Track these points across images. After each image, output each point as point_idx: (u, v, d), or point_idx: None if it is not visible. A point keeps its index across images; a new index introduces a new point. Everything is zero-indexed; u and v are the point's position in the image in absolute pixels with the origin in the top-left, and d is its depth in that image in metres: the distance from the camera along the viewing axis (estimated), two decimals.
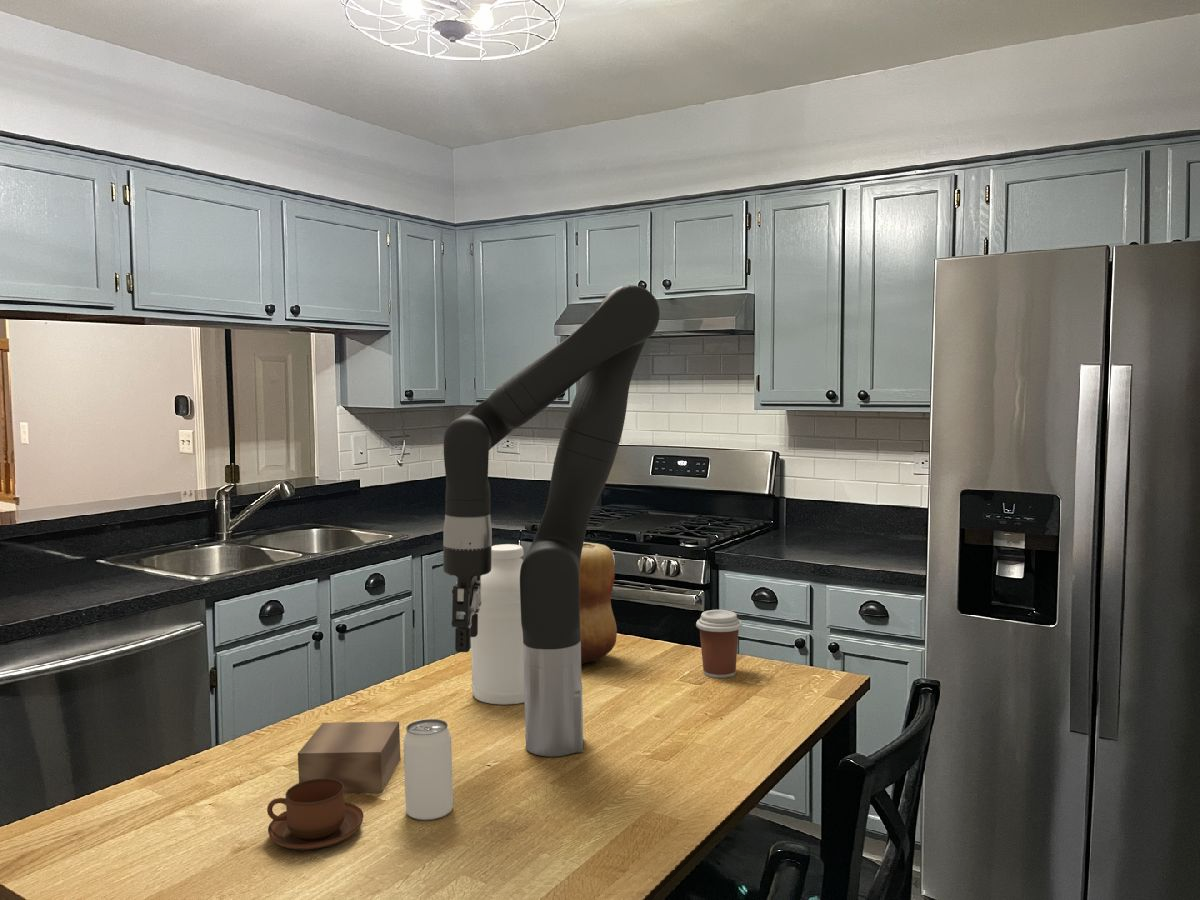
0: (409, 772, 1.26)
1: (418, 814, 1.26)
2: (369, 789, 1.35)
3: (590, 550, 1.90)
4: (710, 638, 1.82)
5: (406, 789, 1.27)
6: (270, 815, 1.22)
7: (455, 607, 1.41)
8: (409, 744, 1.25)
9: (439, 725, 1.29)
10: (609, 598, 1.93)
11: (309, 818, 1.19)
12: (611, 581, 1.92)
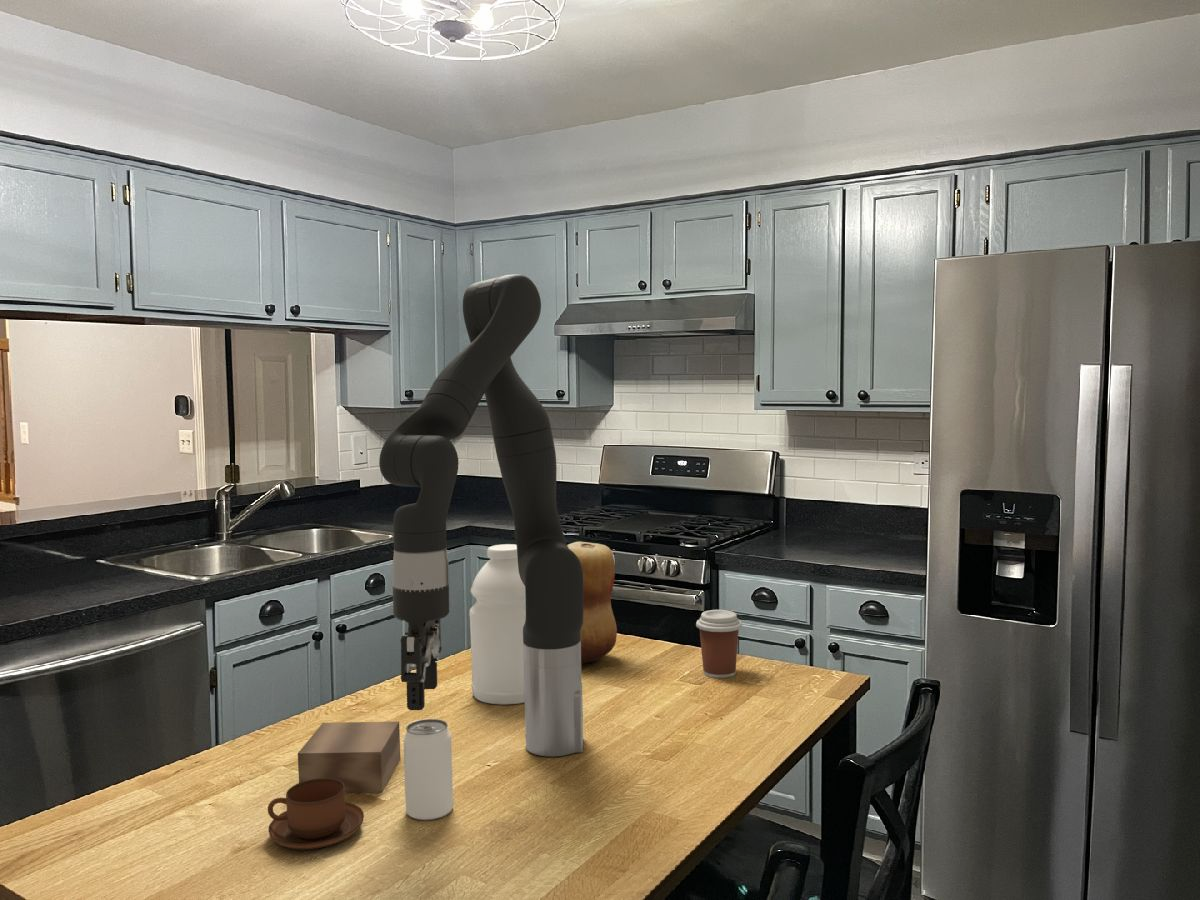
0: (409, 772, 1.26)
1: (418, 814, 1.26)
2: (369, 789, 1.35)
3: (590, 550, 1.90)
4: (710, 638, 1.82)
5: (406, 789, 1.27)
6: (271, 815, 1.22)
7: (404, 659, 1.20)
8: (409, 744, 1.25)
9: (439, 725, 1.29)
10: (609, 598, 1.93)
11: (310, 818, 1.19)
12: (611, 581, 1.92)
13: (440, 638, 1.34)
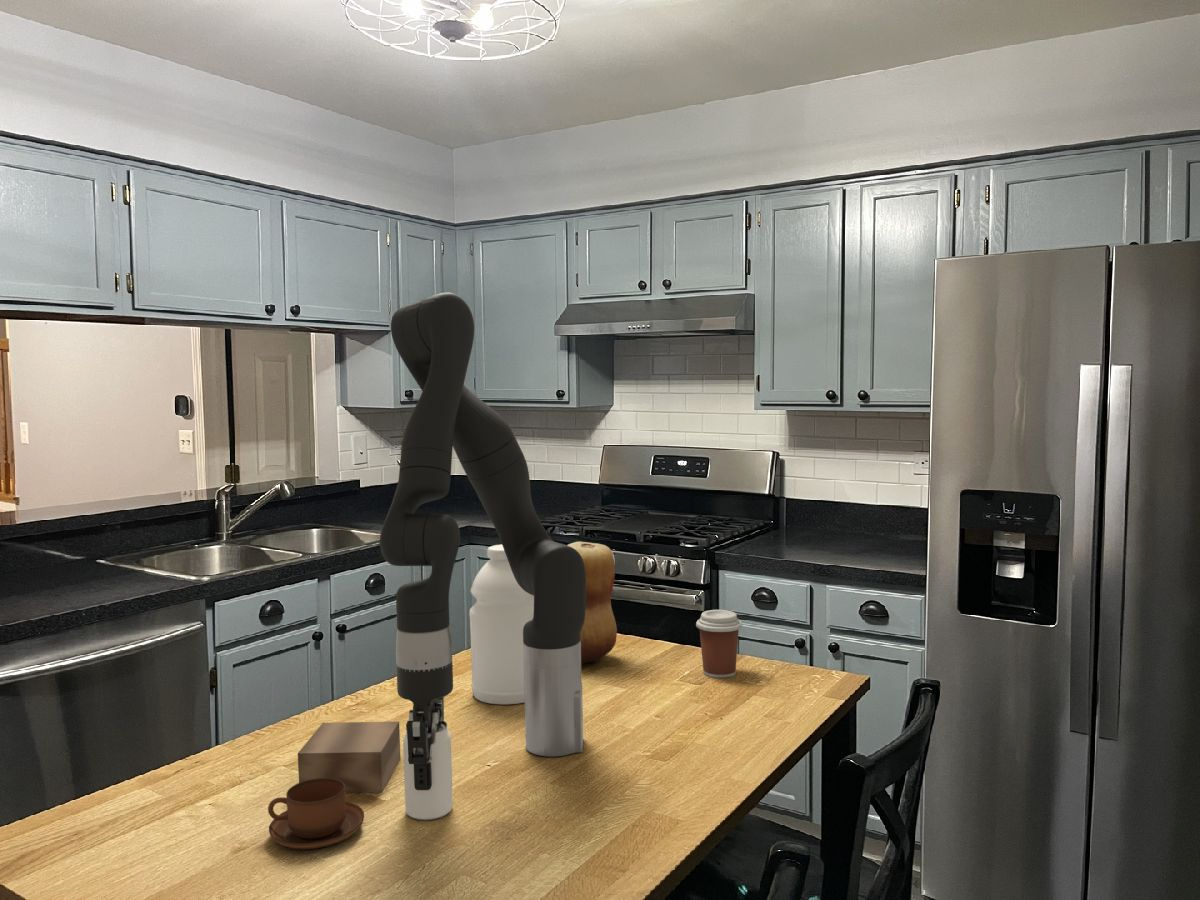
0: (409, 772, 1.26)
1: (417, 814, 1.26)
2: (369, 789, 1.35)
3: (590, 550, 1.90)
4: (710, 638, 1.82)
5: (406, 789, 1.27)
6: (271, 814, 1.22)
7: (411, 743, 1.21)
8: None
9: (439, 725, 1.29)
10: (609, 598, 1.93)
11: (310, 817, 1.19)
12: (611, 581, 1.92)
13: (443, 716, 1.34)
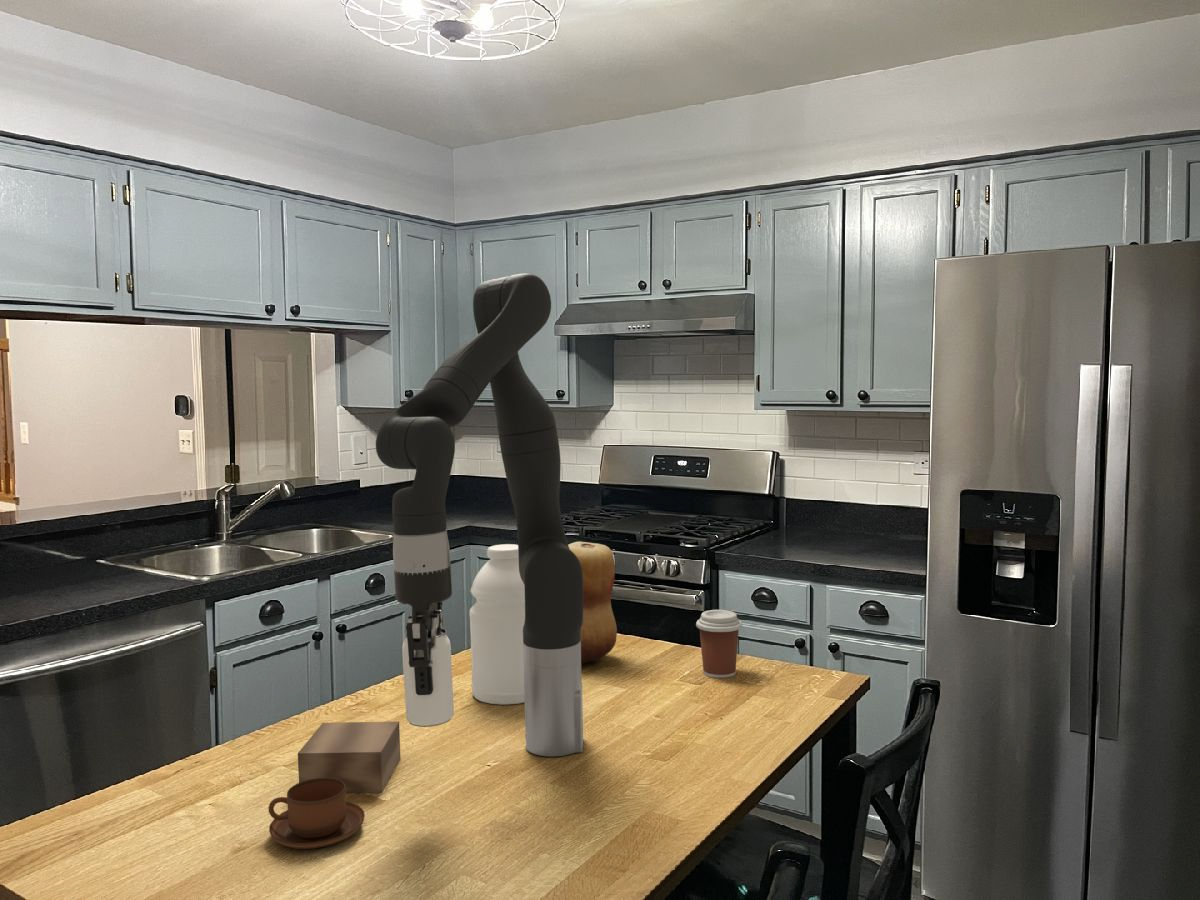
0: (409, 679, 1.24)
1: (419, 721, 1.24)
2: (369, 789, 1.35)
3: (590, 550, 1.90)
4: (710, 638, 1.82)
5: (406, 696, 1.25)
6: (271, 814, 1.22)
7: (411, 645, 1.20)
8: None
9: (438, 632, 1.28)
10: (609, 598, 1.93)
11: (310, 817, 1.19)
12: (611, 581, 1.92)
13: (442, 626, 1.33)
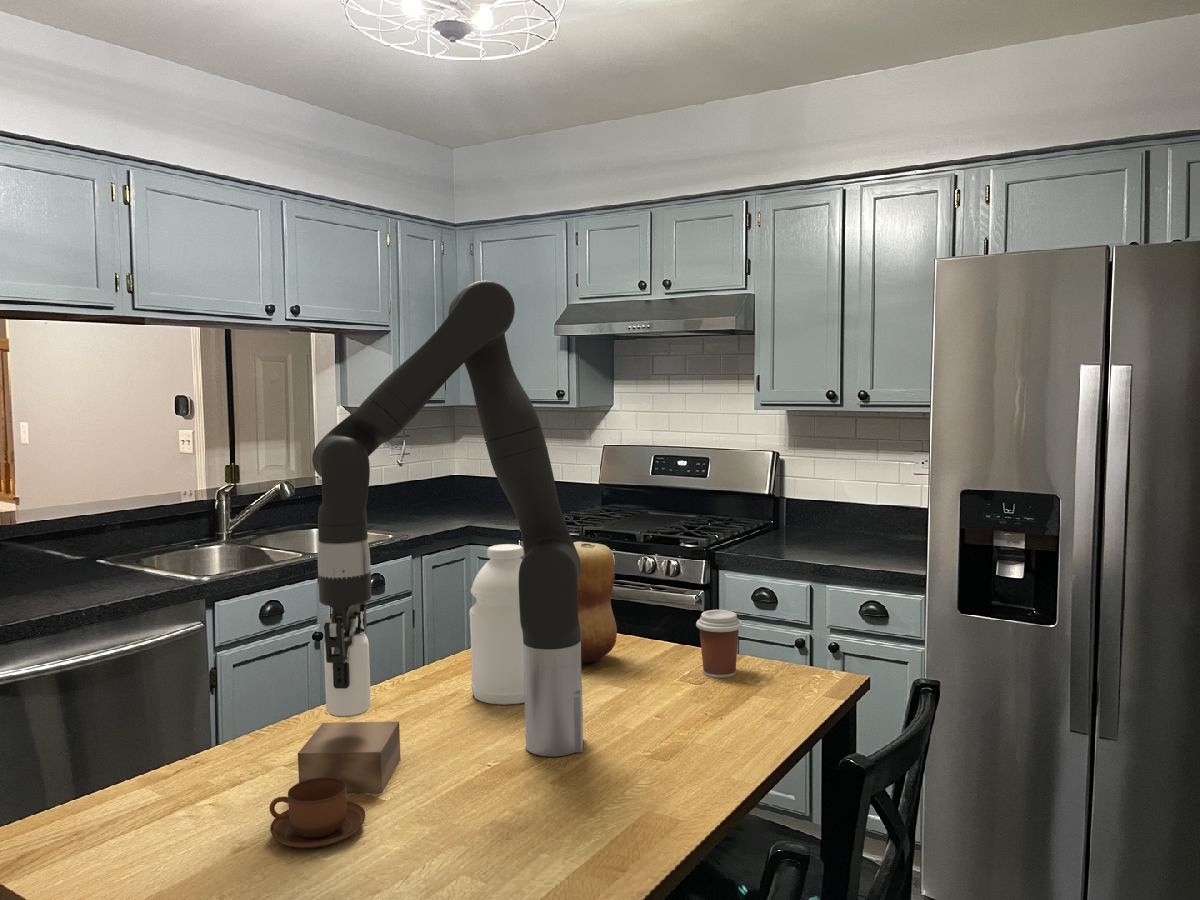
0: (328, 673, 1.37)
1: (336, 711, 1.37)
2: (369, 789, 1.35)
3: (590, 550, 1.90)
4: (710, 638, 1.82)
5: (326, 689, 1.38)
6: (272, 814, 1.22)
7: (328, 643, 1.33)
8: None
9: (358, 632, 1.40)
10: (609, 598, 1.93)
11: (311, 816, 1.19)
12: (611, 581, 1.92)
13: None
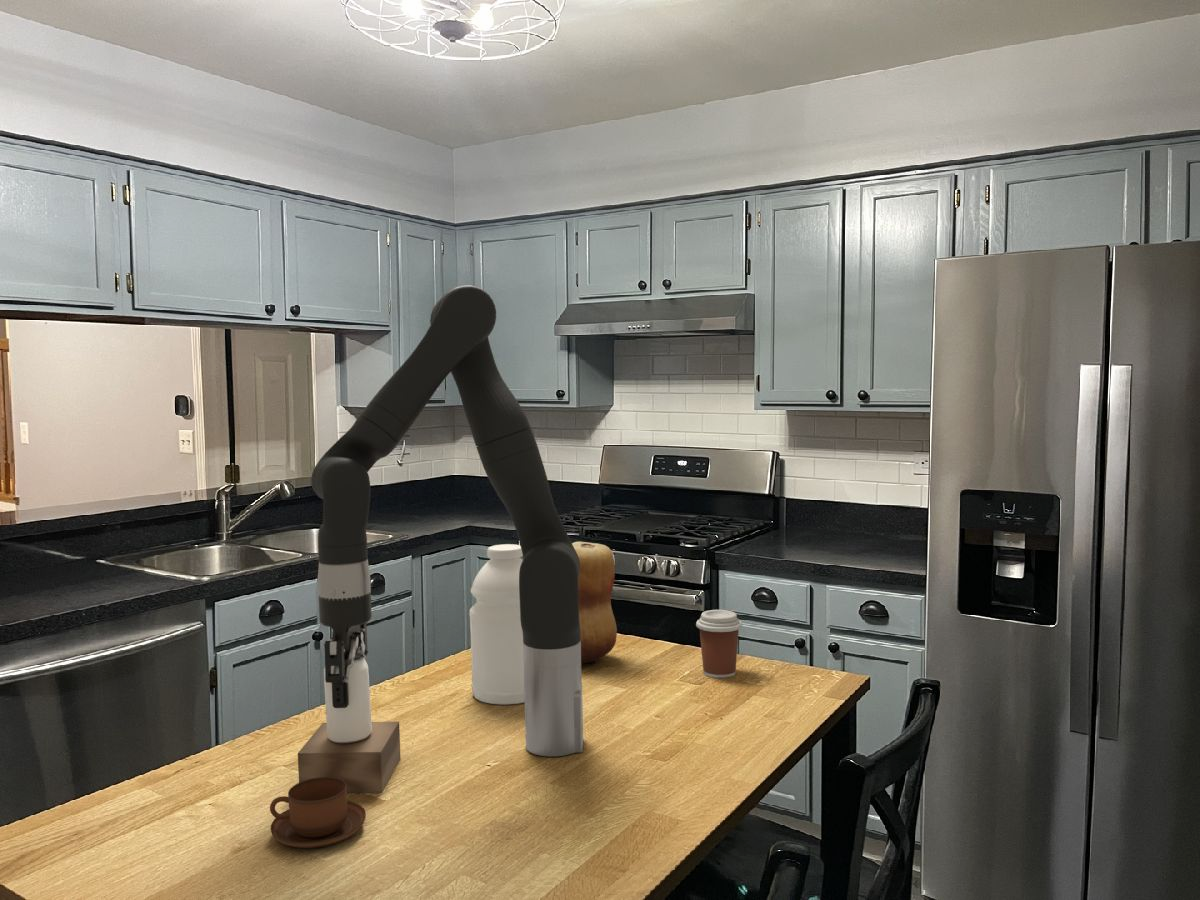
0: (328, 699, 1.37)
1: (337, 738, 1.37)
2: (369, 789, 1.35)
3: (590, 550, 1.90)
4: (710, 638, 1.82)
5: (327, 715, 1.38)
6: (273, 813, 1.22)
7: (328, 661, 1.32)
8: None
9: (357, 657, 1.41)
10: (609, 598, 1.93)
11: (312, 816, 1.19)
12: (611, 581, 1.92)
13: (366, 642, 1.46)
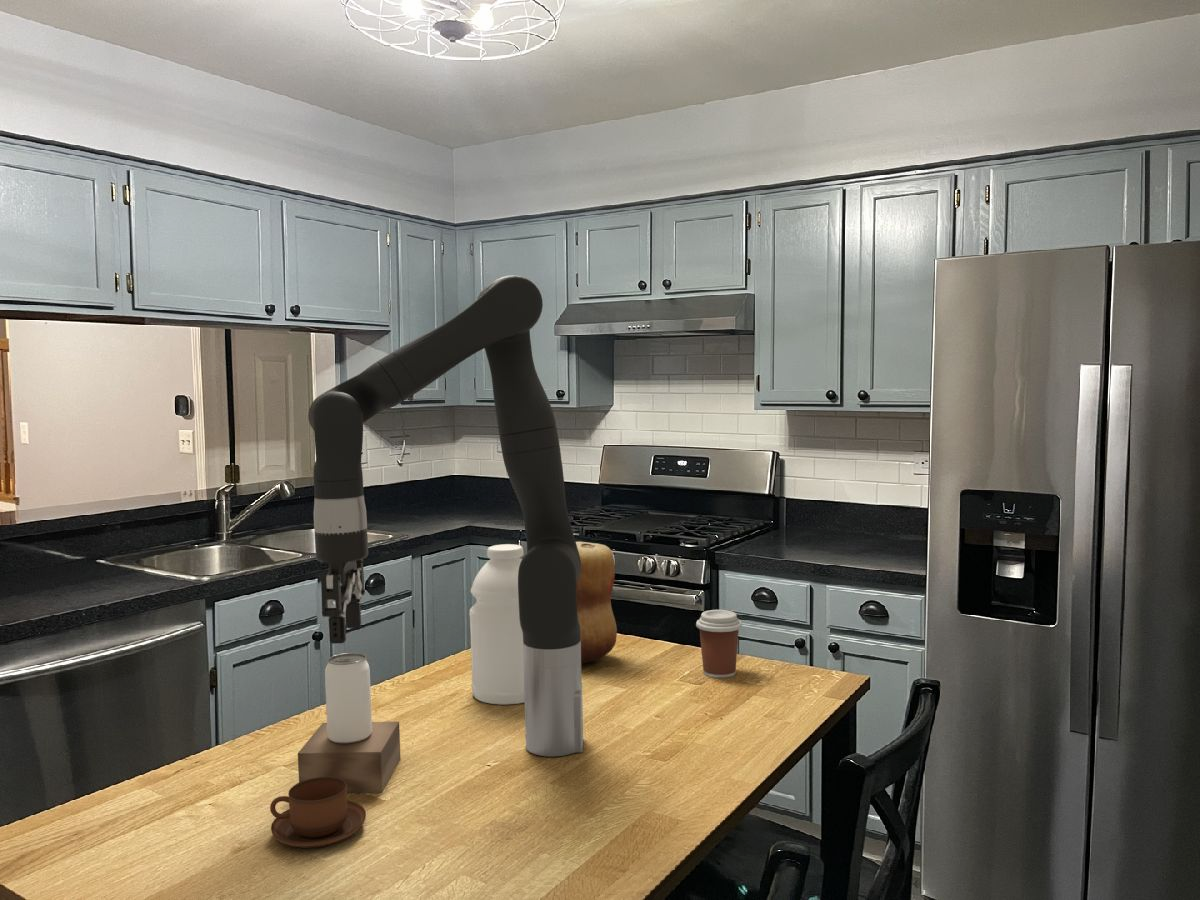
0: (329, 700, 1.37)
1: (337, 738, 1.37)
2: (369, 789, 1.35)
3: (590, 550, 1.90)
4: (710, 638, 1.82)
5: (327, 715, 1.38)
6: (273, 813, 1.22)
7: (324, 595, 1.31)
8: (329, 674, 1.37)
9: (358, 658, 1.41)
10: (609, 598, 1.93)
11: (312, 816, 1.19)
12: (611, 581, 1.92)
13: (363, 582, 1.45)
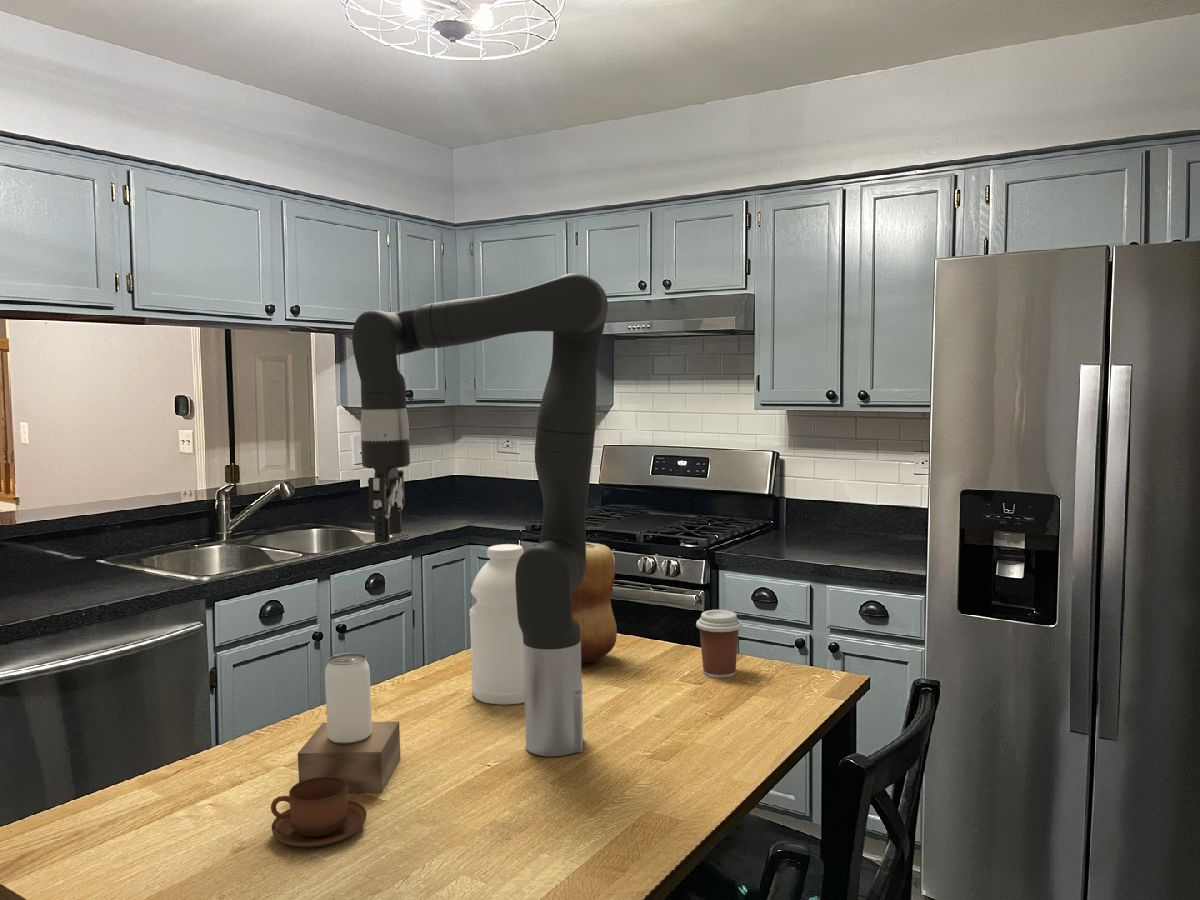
0: (329, 700, 1.37)
1: (337, 738, 1.37)
2: (369, 789, 1.35)
3: (590, 550, 1.90)
4: (710, 638, 1.82)
5: (327, 716, 1.38)
6: (274, 813, 1.22)
7: (371, 496, 1.43)
8: (329, 674, 1.37)
9: (358, 658, 1.41)
10: (609, 598, 1.93)
11: (313, 816, 1.19)
12: (611, 581, 1.92)
13: None
